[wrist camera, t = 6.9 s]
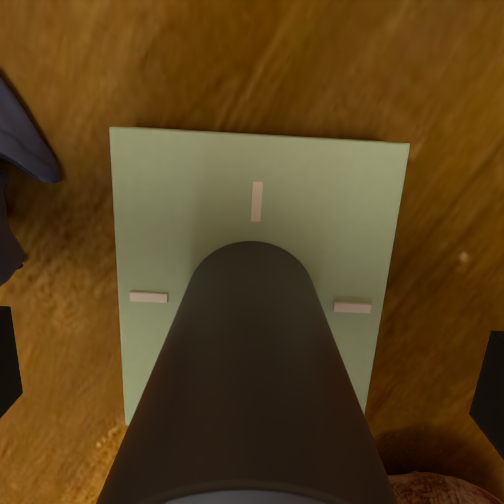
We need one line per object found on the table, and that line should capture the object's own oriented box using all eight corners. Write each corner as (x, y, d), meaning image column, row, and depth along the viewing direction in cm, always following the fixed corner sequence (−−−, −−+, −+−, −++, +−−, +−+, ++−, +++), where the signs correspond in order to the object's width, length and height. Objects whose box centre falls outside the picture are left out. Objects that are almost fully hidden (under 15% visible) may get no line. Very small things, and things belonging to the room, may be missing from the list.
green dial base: (345, 391, 19) (361, 439, 16) (143, 381, 19) (123, 428, 16) (382, 140, 16) (413, 143, 13) (135, 127, 16) (106, 126, 13)
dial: (320, 243, 14) (484, 517, 4) (309, 359, 15) (409, 773, 5) (186, 237, 14) (21, 502, 4) (187, 355, 15) (68, 762, 5)
